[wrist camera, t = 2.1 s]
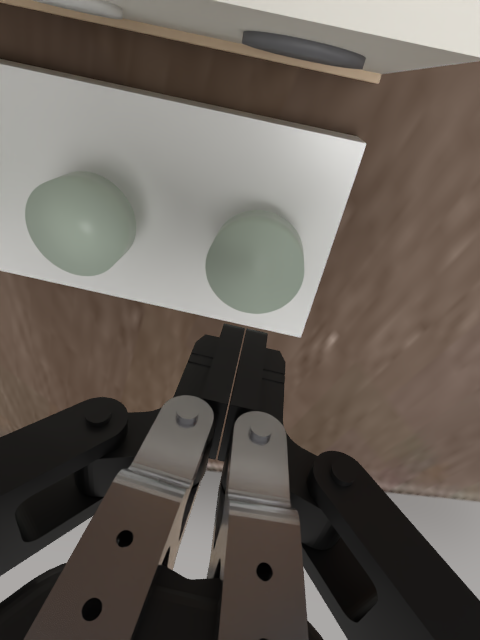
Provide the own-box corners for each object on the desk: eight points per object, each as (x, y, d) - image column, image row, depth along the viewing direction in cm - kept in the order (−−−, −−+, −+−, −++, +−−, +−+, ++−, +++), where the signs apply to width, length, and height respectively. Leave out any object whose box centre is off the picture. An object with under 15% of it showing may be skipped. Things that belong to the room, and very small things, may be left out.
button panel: (-42, 238, 27) (-76, 253, 25) (-94, 38, 21) (-148, 31, 18) (300, 314, 27) (300, 337, 24) (357, 136, 20) (366, 143, 18)
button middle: (53, 250, 21) (32, 265, 19) (43, 161, 18) (17, 169, 16) (135, 269, 21) (121, 285, 19) (137, 182, 18) (121, 192, 16)
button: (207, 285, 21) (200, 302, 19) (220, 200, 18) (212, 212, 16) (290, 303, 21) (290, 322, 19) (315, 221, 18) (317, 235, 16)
